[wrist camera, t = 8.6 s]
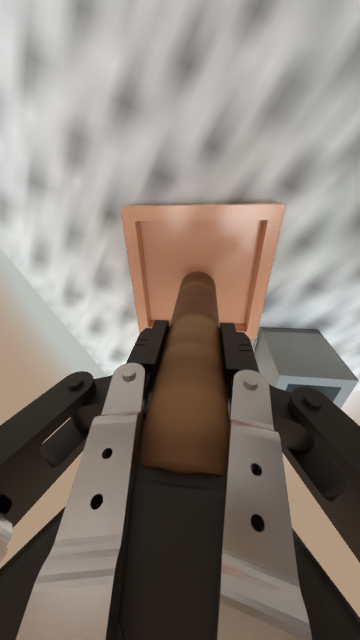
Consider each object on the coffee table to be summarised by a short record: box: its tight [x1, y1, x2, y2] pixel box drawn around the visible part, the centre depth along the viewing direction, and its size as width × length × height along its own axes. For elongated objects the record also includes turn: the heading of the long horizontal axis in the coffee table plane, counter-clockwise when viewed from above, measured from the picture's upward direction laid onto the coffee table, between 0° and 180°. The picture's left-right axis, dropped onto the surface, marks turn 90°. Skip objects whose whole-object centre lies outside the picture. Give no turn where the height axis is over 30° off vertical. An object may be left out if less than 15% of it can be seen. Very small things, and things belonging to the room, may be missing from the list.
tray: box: [120, 202, 286, 340], centre depth 19 cm, size 12×12×2 cm
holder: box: [254, 327, 359, 409], centre depth 21 cm, size 6×6×7 cm
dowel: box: [135, 271, 229, 476], centre depth 12 cm, size 3×3×14 cm
